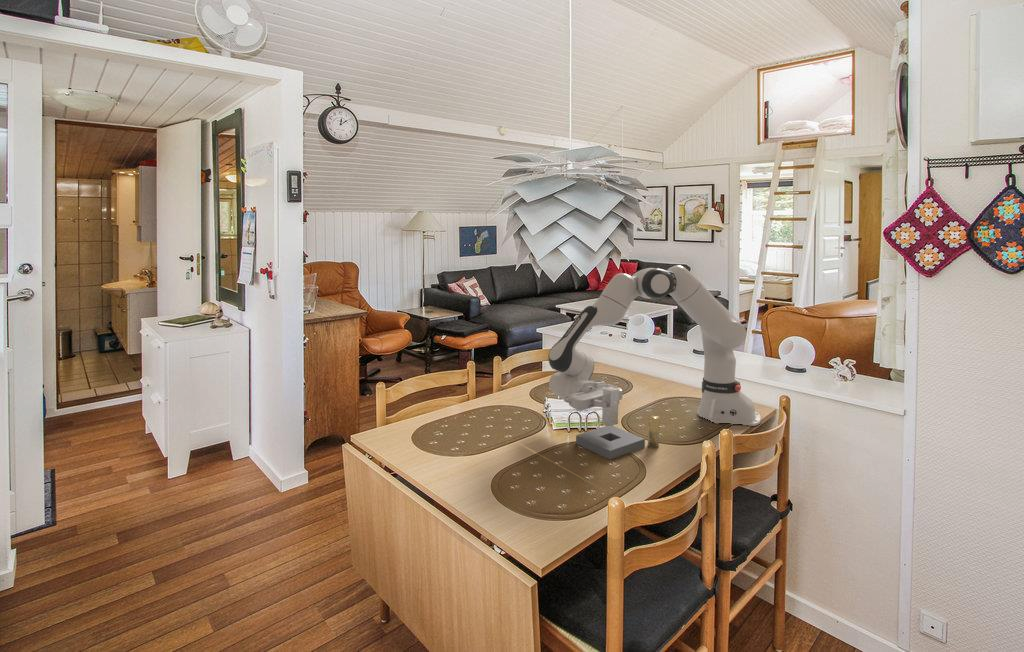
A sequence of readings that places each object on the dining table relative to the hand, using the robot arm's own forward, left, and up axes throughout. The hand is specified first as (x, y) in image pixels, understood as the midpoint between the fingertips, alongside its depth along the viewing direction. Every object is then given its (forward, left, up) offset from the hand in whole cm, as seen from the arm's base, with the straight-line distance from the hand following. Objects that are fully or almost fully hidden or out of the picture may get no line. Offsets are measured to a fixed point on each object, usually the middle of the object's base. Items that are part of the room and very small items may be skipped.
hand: (612, 403), depth 186 cm
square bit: (+1, 0, -7) cm, 7 cm away
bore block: (+1, 0, -15) cm, 15 cm away
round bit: (-13, -5, -15) cm, 20 cm away
